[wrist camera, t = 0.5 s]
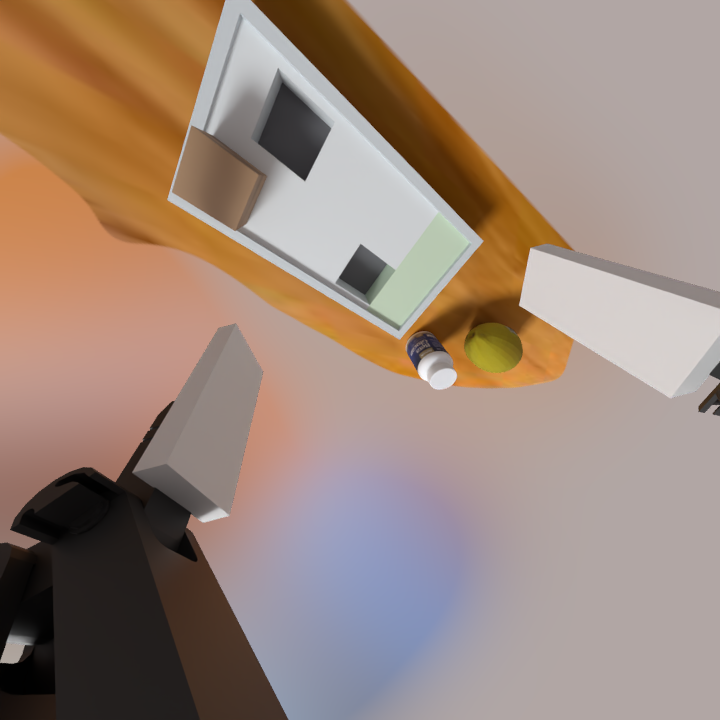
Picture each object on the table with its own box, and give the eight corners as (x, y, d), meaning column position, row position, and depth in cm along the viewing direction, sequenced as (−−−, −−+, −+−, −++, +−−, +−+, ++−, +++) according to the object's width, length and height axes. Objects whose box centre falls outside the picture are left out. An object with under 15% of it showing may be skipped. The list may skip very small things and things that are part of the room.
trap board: (186, 197, 28) (167, 199, 24) (245, 15, 22) (231, -20, 18) (391, 325, 41) (399, 339, 37) (464, 234, 35) (483, 241, 31)
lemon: (511, 336, 46) (544, 361, 40) (475, 364, 49) (501, 392, 42) (482, 299, 41) (515, 321, 34) (444, 333, 44) (467, 359, 37)
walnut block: (194, 190, 25) (171, 192, 20) (212, 135, 23) (191, 125, 19) (246, 223, 27) (234, 231, 23) (267, 176, 25) (258, 175, 21)
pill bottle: (417, 325, 42) (442, 358, 34) (441, 337, 44) (469, 371, 36) (399, 350, 44) (418, 387, 36) (422, 360, 46) (445, 397, 38)
